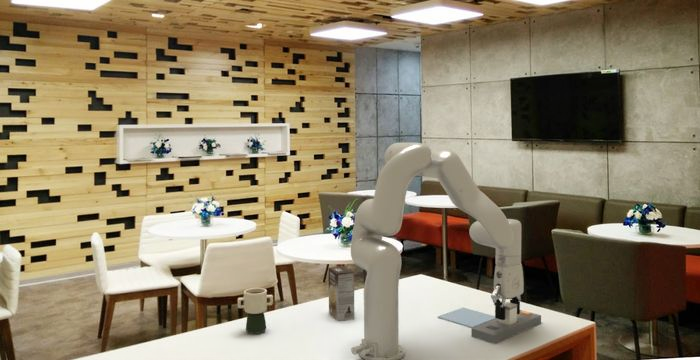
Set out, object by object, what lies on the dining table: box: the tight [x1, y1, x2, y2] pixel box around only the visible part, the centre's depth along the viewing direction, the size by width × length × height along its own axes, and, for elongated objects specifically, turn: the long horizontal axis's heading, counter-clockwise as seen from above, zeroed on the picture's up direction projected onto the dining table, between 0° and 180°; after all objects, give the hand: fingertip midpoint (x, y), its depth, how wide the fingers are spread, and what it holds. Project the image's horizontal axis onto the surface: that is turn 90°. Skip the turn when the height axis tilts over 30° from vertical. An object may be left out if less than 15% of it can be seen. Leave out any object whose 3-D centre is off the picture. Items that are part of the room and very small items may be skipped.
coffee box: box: [328, 265, 355, 322], centre depth 185 cm, size 9×6×16 cm
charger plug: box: [498, 301, 517, 325], centre depth 171 cm, size 4×4×8 cm
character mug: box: [237, 287, 274, 334], centre depth 172 cm, size 11×7×13 cm, turn 108°
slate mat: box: [437, 307, 496, 329], centre depth 183 cm, size 14×14×1 cm
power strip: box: [470, 309, 542, 345], centre depth 172 cm, size 26×8×3 cm, turn 132°
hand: (507, 315), depth 171 cm, fingers open, 7 cm apart
